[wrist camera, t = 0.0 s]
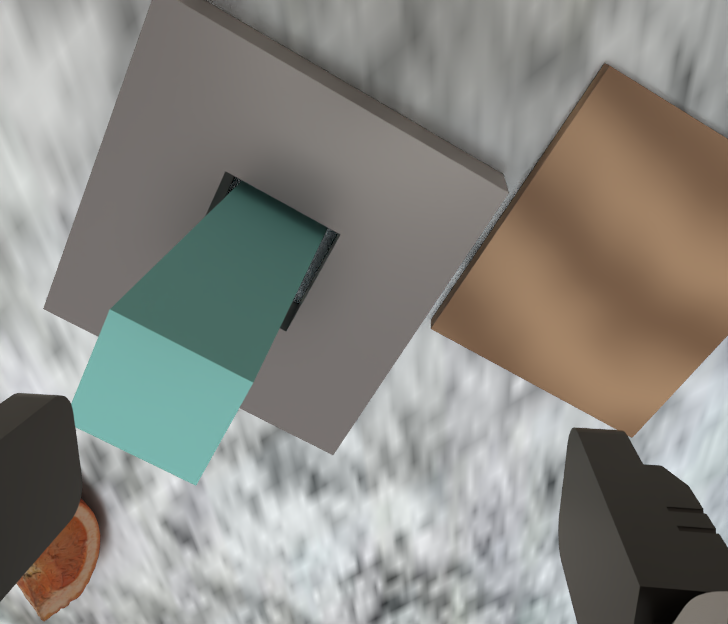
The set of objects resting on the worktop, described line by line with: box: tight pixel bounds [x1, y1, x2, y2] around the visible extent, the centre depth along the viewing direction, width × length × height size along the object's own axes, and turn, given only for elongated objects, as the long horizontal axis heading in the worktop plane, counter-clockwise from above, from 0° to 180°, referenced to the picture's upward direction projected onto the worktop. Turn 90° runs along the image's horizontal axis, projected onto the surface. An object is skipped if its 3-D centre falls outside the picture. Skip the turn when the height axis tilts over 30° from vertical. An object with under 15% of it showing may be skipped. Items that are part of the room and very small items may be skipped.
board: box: [431, 63, 728, 438], centre depth 32 cm, size 14×12×1 cm
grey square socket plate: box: [43, 0, 509, 455], centre depth 32 cm, size 16×16×3 cm
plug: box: [71, 181, 328, 485], centre depth 27 cm, size 4×4×15 cm
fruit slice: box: [16, 499, 100, 621], centre depth 41 cm, size 8×7×5 cm
